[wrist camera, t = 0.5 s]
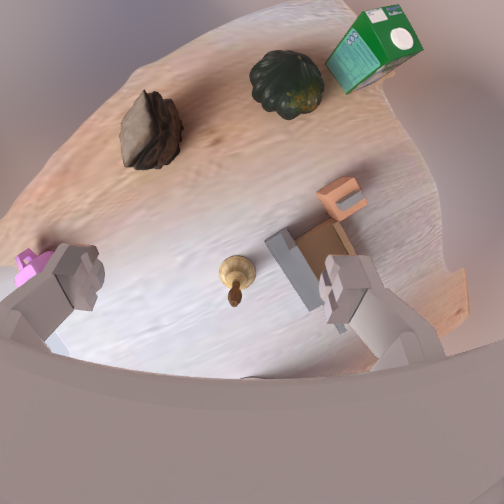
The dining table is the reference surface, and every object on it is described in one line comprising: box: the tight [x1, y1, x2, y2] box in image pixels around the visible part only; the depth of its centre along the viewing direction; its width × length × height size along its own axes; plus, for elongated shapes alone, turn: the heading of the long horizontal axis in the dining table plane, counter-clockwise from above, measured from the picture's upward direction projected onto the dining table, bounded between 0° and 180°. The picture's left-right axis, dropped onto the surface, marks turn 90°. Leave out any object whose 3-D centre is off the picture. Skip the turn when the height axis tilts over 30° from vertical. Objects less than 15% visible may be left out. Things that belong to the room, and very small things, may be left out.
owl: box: [119, 90, 184, 170], centre depth 45 cm, size 13×13×20 cm
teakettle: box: [15, 248, 54, 288], centre depth 58 cm, size 17×17×12 cm
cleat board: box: [265, 217, 357, 334], centre depth 55 cm, size 20×16×16 cm
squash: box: [249, 50, 324, 120], centre depth 46 cm, size 14×15×15 cm
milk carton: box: [325, 5, 424, 95], centre depth 38 cm, size 9×9×25 cm
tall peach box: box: [316, 177, 368, 221], centre depth 53 cm, size 6×7×11 cm
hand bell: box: [219, 256, 255, 307], centre depth 56 cm, size 8×8×16 cm
